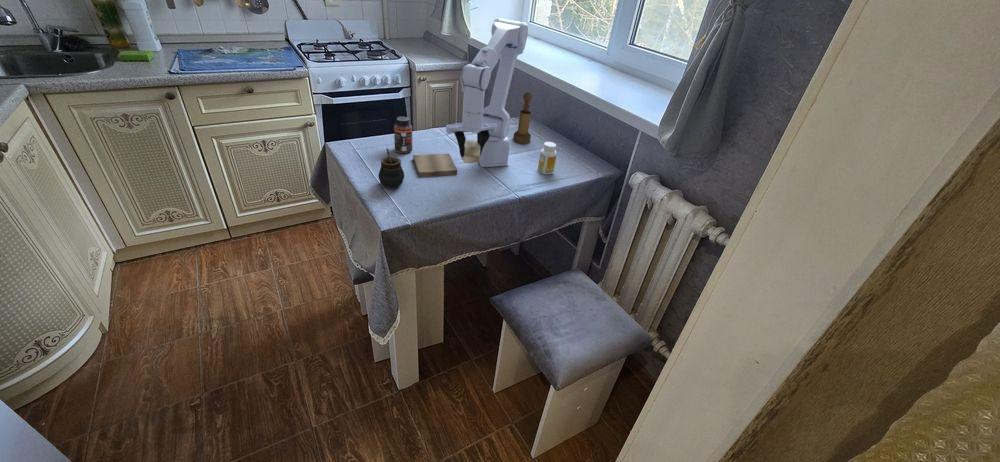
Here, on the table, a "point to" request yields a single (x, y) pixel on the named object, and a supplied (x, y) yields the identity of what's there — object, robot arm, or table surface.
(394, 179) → the mate gourd
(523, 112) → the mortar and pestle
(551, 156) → the supplement bottle
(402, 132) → the supplement bottle
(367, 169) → the table surface
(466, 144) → the maple cube
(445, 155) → the light brown wooden block
